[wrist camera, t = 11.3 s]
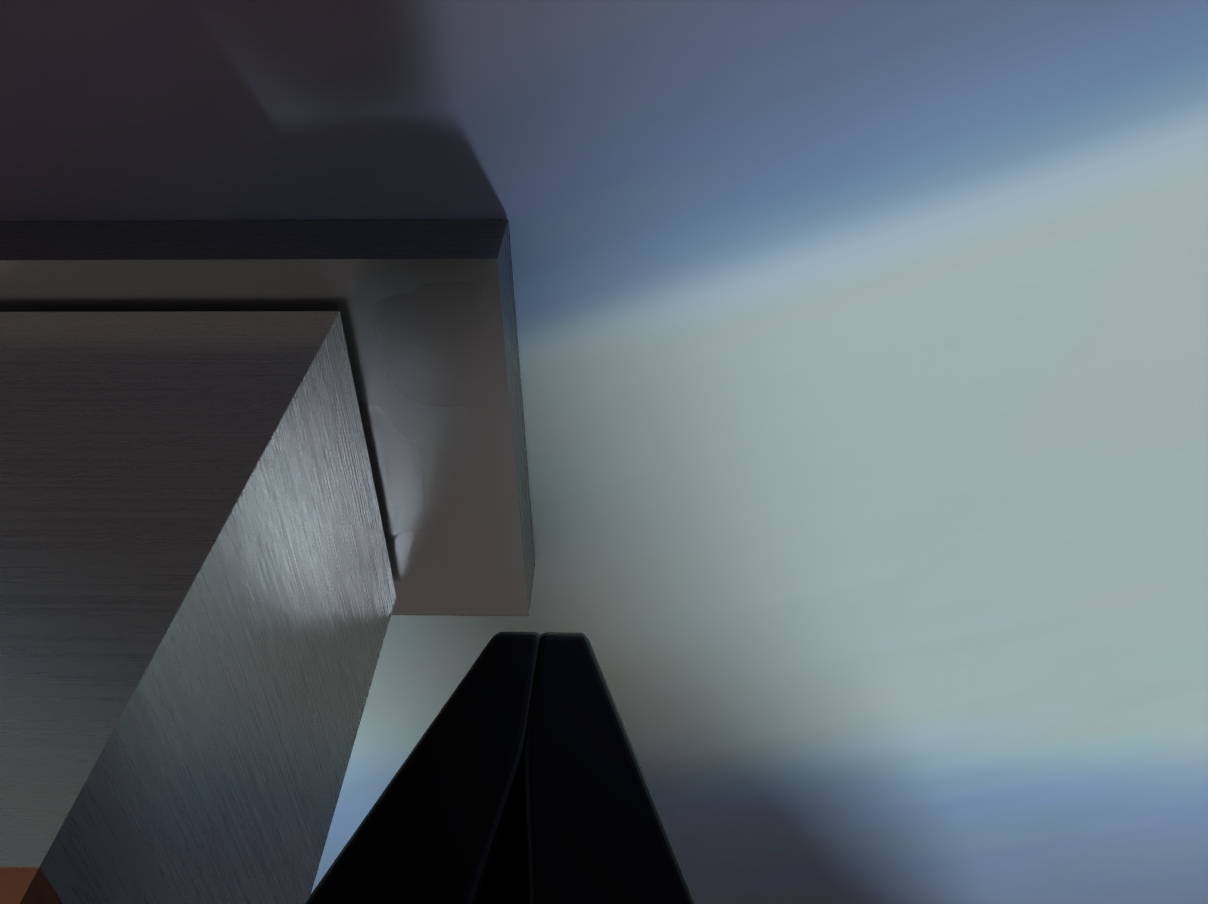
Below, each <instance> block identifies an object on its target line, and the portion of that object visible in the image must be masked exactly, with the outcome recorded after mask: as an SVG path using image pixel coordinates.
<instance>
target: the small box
mask: <svg viewBox="0 0 1208 904" xmlns="http://www.w3.org/2000/svg"><path fill="white" fill-rule="evenodd" d="M395 599H396V591H395V586H394V581H393V576H392V571H391V566H390V561H389V555H388V550H387V545H386V540H385V535H384V530H383V525H382V520H381V515H380V510H379V505H378V500H377V495H376V490H375V485H374V480H373V475H372V470H371V465H370V460H369V455H368V450H367V445H366V440H365V435H364V430H363V425H362V420H361V415H360V410H359V405H358V400H357V395H356V390H355V385H354V380H353V375H352V370H351V365H350V360H349V355H348V350H347V345H346V340H345V335H344V330H343V325H342V320H341V315H340V311H177V312H0V904H305V902H306V901H307V899H308V898H309V897H310V895H311V892H312V888H313V885H314V881H315V878H316V874H317V871H318V867H319V864H320V860H321V857H322V853H323V850H324V846H325V843H326V839H327V836H328V833H329V829H330V826H331V822H332V819H333V815H334V812H335V808H336V805H337V801H338V798H339V794H340V791H341V787H342V784H343V780H344V777H345V773H346V770H347V766H348V763H349V759H350V756H351V752H352V749H353V745H354V742H355V738H356V735H357V731H358V728H359V724H360V721H361V718H362V714H363V711H364V707H365V704H366V700H367V697H368V693H369V690H370V686H371V683H372V679H373V676H374V672H375V669H376V665H377V662H378V658H379V655H380V651H381V648H382V644H383V641H384V637H385V634H386V630H387V627H388V623H389V620H390V616H391V613H392V609H393V606H394V603H395Z"/></svg>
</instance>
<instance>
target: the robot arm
mask: <svg viewBox="0 0 1208 904" xmlns="http://www.w3.org/2000/svg"><path fill="white" fill-rule="evenodd" d="M305 904H696V902H695V899H694V897H693V894H692V892H691V890H690V887H689V885H688V882H687V880H686V877H685V875H684V872H683V870H682V867H681V865H680V862H679V860H678V858H677V855H676V853H675V850H674V848H673V845H672V843H671V840H670V838H669V835H668V833H667V830H666V828H665V826H664V823H663V821H662V818H661V816H660V813H659V811H658V808H657V806H656V803H655V801H654V799H653V796H652V794H651V791H650V789H649V786H648V784H647V781H646V779H645V776H644V774H643V771H642V769H641V767H640V764H639V762H638V759H637V757H636V754H635V752H634V749H633V747H632V744H631V742H630V740H629V737H628V735H627V732H626V730H625V727H624V725H623V722H622V720H621V717H620V715H619V712H618V710H617V708H616V705H615V703H614V700H613V698H612V695H611V693H610V690H609V688H608V685H607V683H606V680H605V678H604V676H603V673H602V671H601V668H600V666H599V663H598V661H597V658H596V656H595V653H594V651H593V649H592V646H591V644H590V641H589V639H588V638H587V637H586V636H585V635H584V634H582V633H558V632H547V633H544V634H542V635H540V634H539V633H536V632H500V633H498V634H496V635H495V636H494V637H493V638H492V639H491V640H490V641H489V643H488V644H487V646H486V647H485V648H484V650H483V651H482V653H481V654H480V656H479V657H478V658H477V660H476V661H475V663H474V664H473V665H472V667H471V668H470V670H469V671H468V673H467V674H466V675H465V677H464V678H463V680H462V681H461V683H460V684H459V685H458V687H457V688H456V690H455V691H454V692H453V694H452V695H451V697H450V698H449V700H448V701H447V702H446V704H445V705H444V707H443V708H442V709H441V711H440V712H439V714H438V715H437V717H436V718H435V719H434V721H433V722H432V724H431V725H430V726H429V728H428V729H427V731H426V732H425V734H424V735H423V736H422V738H421V739H420V741H419V742H418V743H417V745H416V746H415V748H414V749H413V751H412V752H411V753H410V755H409V756H408V758H407V759H406V760H405V762H404V763H403V765H402V766H401V768H400V769H399V770H398V772H397V773H396V775H395V776H394V777H393V779H392V780H391V782H390V783H389V785H388V786H387V787H386V789H385V790H384V792H383V793H382V794H381V796H380V797H379V799H378V800H377V802H376V803H375V804H374V806H373V807H372V809H371V810H370V811H369V813H368V814H367V816H366V817H365V819H364V820H363V821H362V823H361V824H360V826H359V827H358V828H357V830H356V831H355V833H354V834H353V836H352V837H351V838H350V840H349V841H348V843H347V844H346V846H345V847H344V848H343V850H342V851H341V853H340V854H339V855H338V857H337V858H336V860H335V861H334V863H333V864H332V865H331V867H330V868H329V870H328V871H327V872H326V874H325V875H324V877H323V878H322V880H321V881H320V882H319V884H318V885H317V887H316V888H315V889H314V891H313V892H312V894H311V895H310V897H309V898H308V899H307V901H306V902H305Z"/></svg>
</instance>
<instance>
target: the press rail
mask: <svg viewBox="0 0 1208 904" xmlns="http://www.w3.org/2000/svg"><path fill="white" fill-rule="evenodd" d="M177 311H340V315H341V320H342V325H343V330H344V335H345V340H346V345H347V350H348V355H349V360H350V365H351V370H352V375H353V380H354V385H355V390H356V395H357V400H358V405H359V410H360V415H361V420H362V425H363V430H364V435H365V440H366V445H367V450H368V455H369V460H370V465H371V470H372V475H373V480H374V485H375V490H376V495H377V500H378V505H379V510H380V515H381V520H382V525H383V530H384V535H385V540H386V545H387V550H388V555H389V561H390V566H391V571H392V576H393V581H394V586H395V591H396V599H395V603H394V606H393V609H392V613H391V615H460V616H529V609H530V601H531V593H532V585H533V577H534V569H535V555H534V543H533V530H532V517H531V504H530V492H529V479H528V466H527V453H526V441H525V428H524V415H523V402H522V389H521V377H520V364H519V351H518V338H517V326H516V313H515V300H514V287H513V275H512V262H511V249H510V236H509V224H508V220H308V221H97V222H0V312H177Z"/></svg>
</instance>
